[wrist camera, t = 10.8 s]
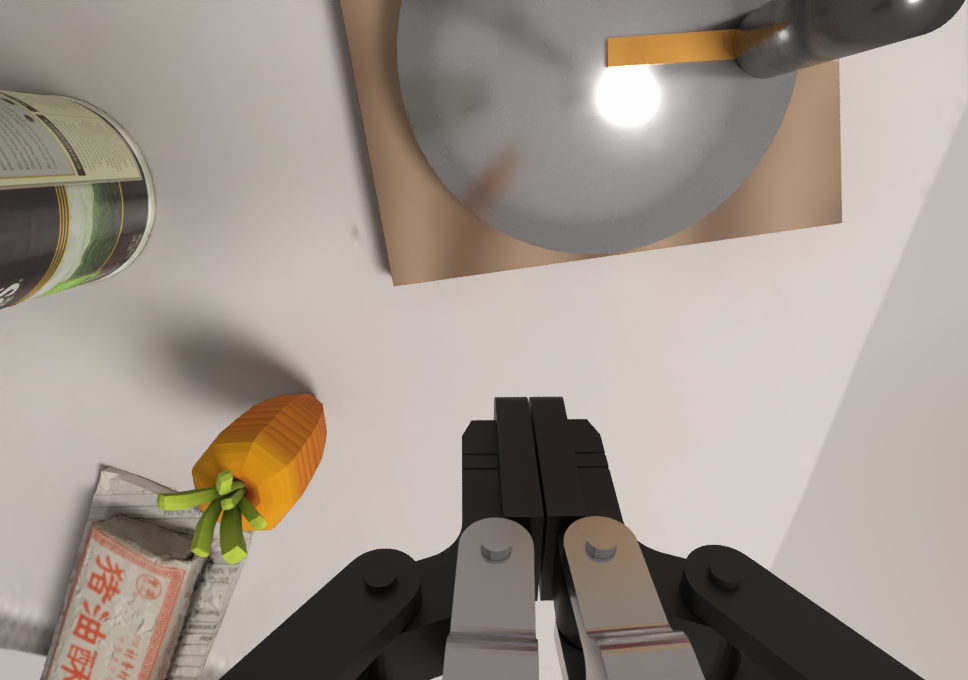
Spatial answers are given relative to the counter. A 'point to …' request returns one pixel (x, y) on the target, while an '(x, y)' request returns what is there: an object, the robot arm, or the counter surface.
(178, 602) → the packaged product
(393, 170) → the base board
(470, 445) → the robot arm
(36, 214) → the coffee can
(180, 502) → the carrot
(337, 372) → the counter surface
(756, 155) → the wheel
